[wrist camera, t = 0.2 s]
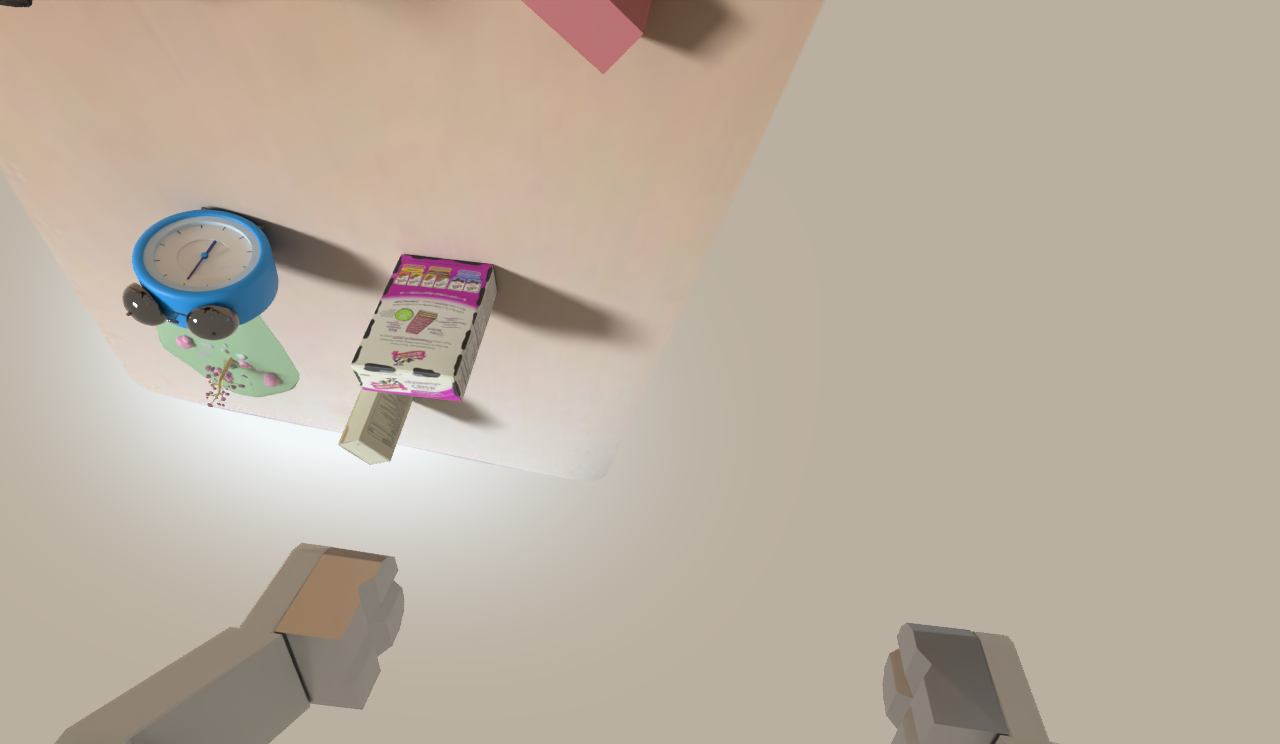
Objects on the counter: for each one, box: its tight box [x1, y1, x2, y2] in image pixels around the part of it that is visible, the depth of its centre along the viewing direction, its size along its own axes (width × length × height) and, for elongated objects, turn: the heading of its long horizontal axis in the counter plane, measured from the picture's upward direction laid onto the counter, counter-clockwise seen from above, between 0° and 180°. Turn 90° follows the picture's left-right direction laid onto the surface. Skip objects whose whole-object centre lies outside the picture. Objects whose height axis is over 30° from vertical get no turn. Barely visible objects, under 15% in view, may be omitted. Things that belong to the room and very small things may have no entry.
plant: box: [157, 315, 299, 407], centre depth 100 cm, size 25×21×9 cm
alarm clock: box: [123, 207, 278, 341], centre depth 78 cm, size 13×6×15 cm, turn 75°
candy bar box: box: [351, 255, 498, 402], centre depth 79 cm, size 11×5×16 cm, turn 89°
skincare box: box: [338, 388, 414, 465], centre depth 101 cm, size 6×4×12 cm
